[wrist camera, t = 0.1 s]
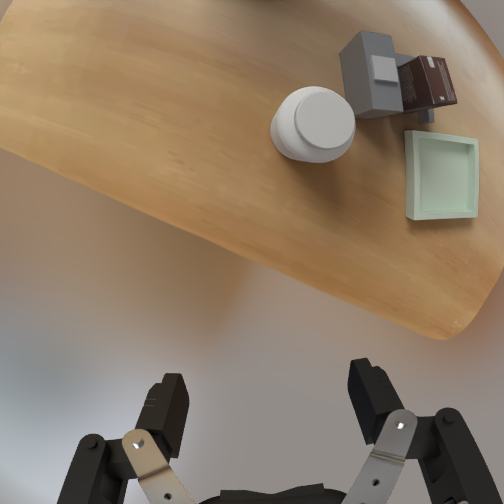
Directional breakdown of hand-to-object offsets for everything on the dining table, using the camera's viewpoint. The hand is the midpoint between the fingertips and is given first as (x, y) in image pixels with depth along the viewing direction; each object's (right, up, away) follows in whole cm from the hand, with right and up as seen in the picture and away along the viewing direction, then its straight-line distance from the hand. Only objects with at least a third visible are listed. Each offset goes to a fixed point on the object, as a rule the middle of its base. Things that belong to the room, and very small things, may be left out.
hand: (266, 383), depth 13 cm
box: (+20, +29, +21) cm, 41 cm away
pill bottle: (+6, +22, +24) cm, 33 cm away
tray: (+29, +18, +25) cm, 42 cm away
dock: (+19, +30, +21) cm, 41 cm away
